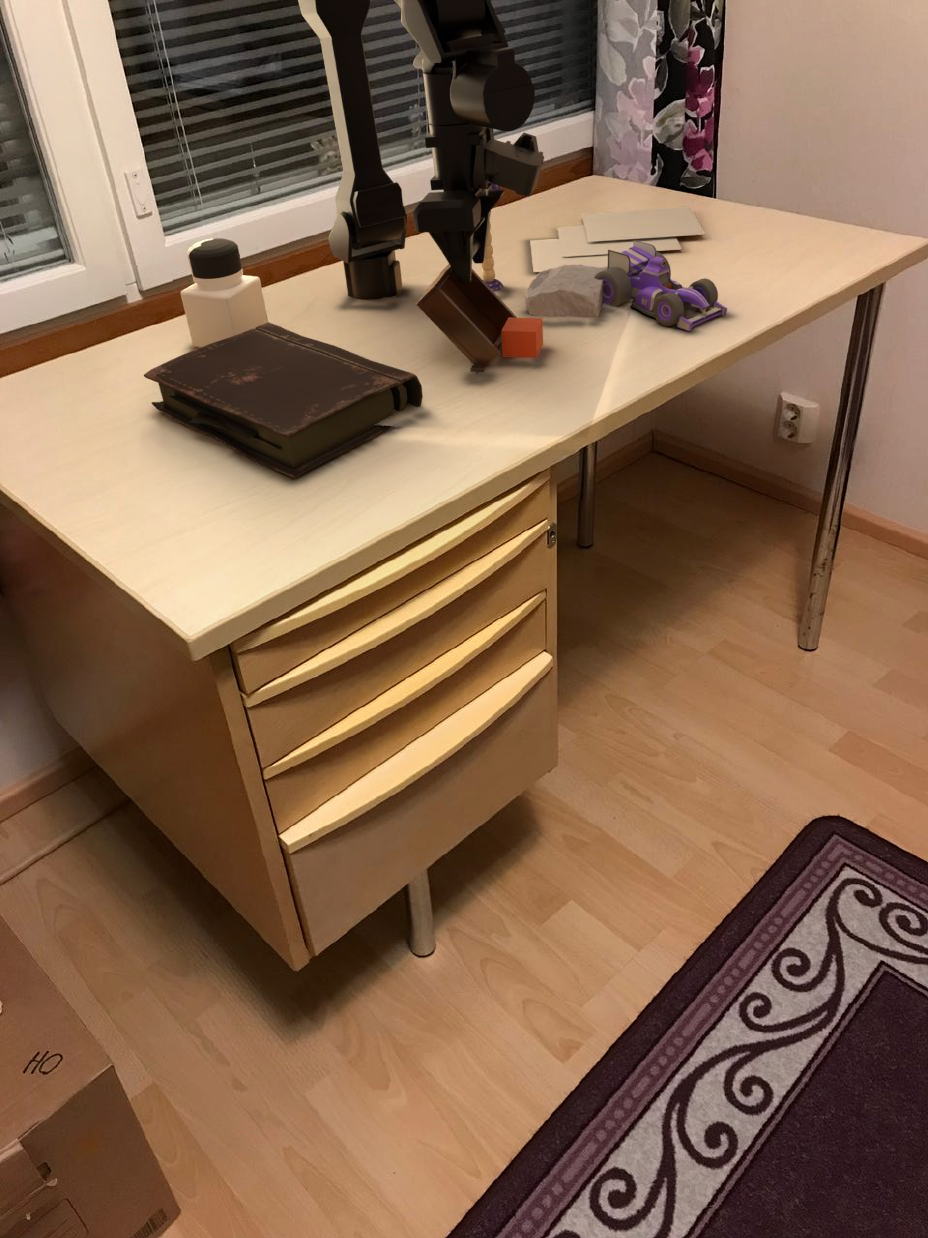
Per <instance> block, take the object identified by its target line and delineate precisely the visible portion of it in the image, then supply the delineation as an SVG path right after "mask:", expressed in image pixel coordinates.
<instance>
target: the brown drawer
mask: <svg viewBox="0 0 928 1238" xmlns="http://www.w3.org/2000/svg"><path fill="white" fill-rule="evenodd" d="M479 249H480V241H479V240H478V239H477V238H475V237H473V252H472V258H473V257H474V256H475V254H476V253H477V251H478V250H479ZM415 305H416V306H417V307H418V308H419V309H420V311H422V312H423V314H424V315H426V317H427V318H428V319H429V321H430V320H431V322H432V323H433V324H434V325H435V326H436V327H437V328H438V329H439V330H440V331H441V332H442V333H443V335H445V336H446V337H447V338H448V340H450V341H451V342H452V344H453V345H454V346H455V347H456V348H457V349H458V350H459V351H460V352H461V353H462V354H463V355H464V356H465V357H466V358H467V359H468V360H469V361H470V362H471V363H472V365H486V367H487V366H489V365H490V364H491V363H492V362H493V361H494V360H495V359H497V358H498V357H499V356H500V355H501V354H502V351H501V350H499V349H498V348H499V346H500V344H501V343H502V341H501V330H502V328H503V327H504V325H505V323H506V321H507V320H508V318H509V317H510V318H518V317H517V315H516V314H515V313H514V312H513V311H512V310H511V309H510V307H508V306H507V305H506V303H505V302H504V301H502V299H501V298H500V297H499V296H498V295H497V294H496V293H495V292H493V291H492V290H491V289H490V288H489V286H488V285H487V284H486V283H485V282H484V281H483V278H481V276H480V275H479V274H478V273H476V271H475V270H474V269H473V268H472V272H471V281H470V283H460V281H459V279H458V278H457V276H456V274H455V273H454V271H453V270H452V268H451V266H450V265H449V263H448V264H447V265H446V266H445V267H444V268H443V269H442V270H441V271H440V272H439V273H438V275H437V276H436V277H435V279H434V280H433V281H432V283H431V284H430V285H429V287H428V288H427V289H426V291H425V292H424V293H423V294H422V295H421V297H420V298H419V300H418V301H417V302H416V304H415Z"/></svg>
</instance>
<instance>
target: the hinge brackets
mask: <svg viewBox="0 0 928 1238" xmlns="http://www.w3.org/2000/svg"><path fill="white" fill-rule="evenodd" d="M469 370H470V372H471V373H475V375H478V373H485V372H486V370H487V366H486V365H474V364H472V365H471V366H470V369H469Z"/></svg>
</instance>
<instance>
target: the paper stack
mask: <svg viewBox="0 0 928 1238" xmlns="http://www.w3.org/2000/svg"><path fill="white" fill-rule="evenodd" d="M580 216H581V220H582V223H583V225H582V224H581V225H565V226H564V225H563V226H557V227H556V230H557V234H558V238H547V239H545V238H544V239H531V240H529V244H530V253H531V262H532V263H531V264H532V271H533V273H540V272H542V271H544V270H548V269H550V268H557V267H559V266H562V265H581V264H582V265H585V266H594V267H605V266H607V267H608V250H612V251H616V252H623V251H625V250H628V249H629V248H631V247H633V242H634V240H636V241H640V242H643V243H647V244H651V245H654V247H655V248H656V252H665V251H679V250H682V246H681V245H680V242H679V240H678V238H677V237H685V236H701V235H706V233H705V231H704V229H703V227H702V226H701V224H700V222H699V220H698V219H697V217H696V215H695V213H694V211H693V210H692V208H691V206H689V205H688V206H687V205H686V206H673V207H658V208H644V209H643V208H642V209H628V210H614V211H613V210H612V211H611V210H610V211H599V212H583V213H580Z"/></svg>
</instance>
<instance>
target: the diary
mask: <svg viewBox="0 0 928 1238" xmlns="http://www.w3.org/2000/svg"><path fill="white" fill-rule="evenodd" d="M143 377H144V378H145V379H148V380H150V381H152V382H155V383H157V384H158V387H159V391H160V395H161V398H162V401H151V405H152V406H153V407H154V408H155V409H156V410H157V411H159V412H160V413H162V414H164V415H166V416H168V417H170V418H172V419H173V420H175V421H177V422H179V423H181V424H182V425H184V426H186V427H189V428H191V429H193V430H196V431H198V432H201V433H203V434H205V435H207V436H210V437H213V438H214V439H217V440H218V441H220V442H222V443H223V444H225V445H227V446H228V447H229V448H232V449H233V450H235V451H237V452H238V453H240V454H241V455H243V456H245V457H246V458H247V459H250V460H251V461H253V462H255V463H257V464H260V465H262V466H264V467H267V468H269V469H272V470H275V471H277V472H279V473H281V474H284V475H286V476H289V477H291V478H293V479H294V478H295V479H296V478H297V477H298V476H301V475H302V474H305V473H306V472H309V471H310V470H312V469H314V468H316V467H318V466H320V465H322V464H324V463H326V462H329V460H332V459H333V458H335V457H337V456H339V455H342V454H343V453H345V452H347V451H349V450H350V449H353V448H354V447H356V446H358V445H361V444H362V443H364V442H366V441H368V440H370V439H371V438H374V437H376V436H378V435H380V434H381V433H384V432H385V431H388V430H389V429H391V428H394V425H385V424H383V425H382V424H379V423H381V422H383V421H385V420H387V419H389V418H391V417H393V416H394V411H395V412H397V413H400V412H402V411H404V409H405V406H406V404H407V405H411V406H412V407H415V408H421V407H422V403H423V399H424V398H423V397H424V395H423V387H422V386H423V385H422V383H421V381H420V379H419V378H418V376H417V374H415V373H413V372H410V371H406V370H403V369H400V368H397V367H393V366H390V365H387V364H384V363H380V362H378V361H375V360H372V359H369V358H366V357H365V356H361V355H359V354H356V353H353V352H351V351H349V350H346V349H344V348H341V347H339V346H336V345H334V344H331V343H327V342H324V341H321V340H317V339H314V338H310V337H307V336H305V335H301V334H298V333H296V332H294V331H291V330H289V329H287V328H284V327H282V326H280V325H277V324H274V323H272V322H269V321H268V323H265V324H263V325H260V326H258V327H256V328H255V329H254V328H253V329H250V330H248V331H245V332H243V333H240V334H238V335H235V336H232V337H229V338H226V339H223V340H220V341H217V342H214V343H211V344H208V345H206V346H203V347H201V348H199V347H197V349H193V350H190V351H188V352H185V353H184V354H181V355H179V356H176V357H175V358H172V359H170V360H168V361H166V362H164V363H162V364H159V365H158V366H156V367H153V368H151V369H150V370H148V371H147V372H145V373H144V374H143Z"/></svg>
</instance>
